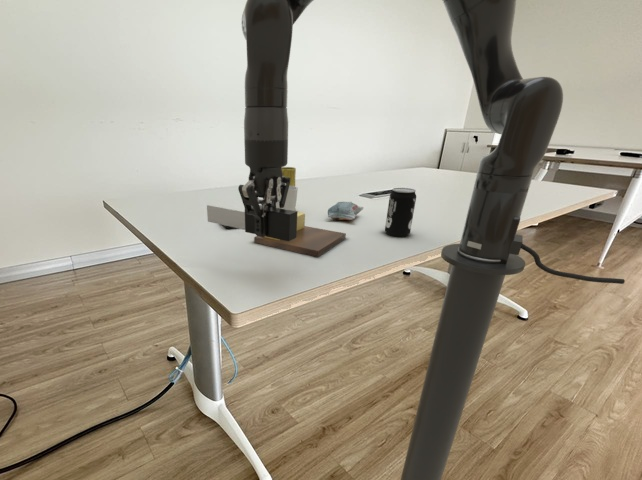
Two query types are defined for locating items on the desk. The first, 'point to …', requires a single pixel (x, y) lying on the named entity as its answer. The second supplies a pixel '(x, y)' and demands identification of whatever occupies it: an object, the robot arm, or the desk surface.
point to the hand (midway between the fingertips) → (266, 233)
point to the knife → (278, 221)
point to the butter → (300, 220)
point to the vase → (289, 174)
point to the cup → (291, 198)
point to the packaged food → (344, 211)
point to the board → (306, 241)
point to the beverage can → (400, 212)
